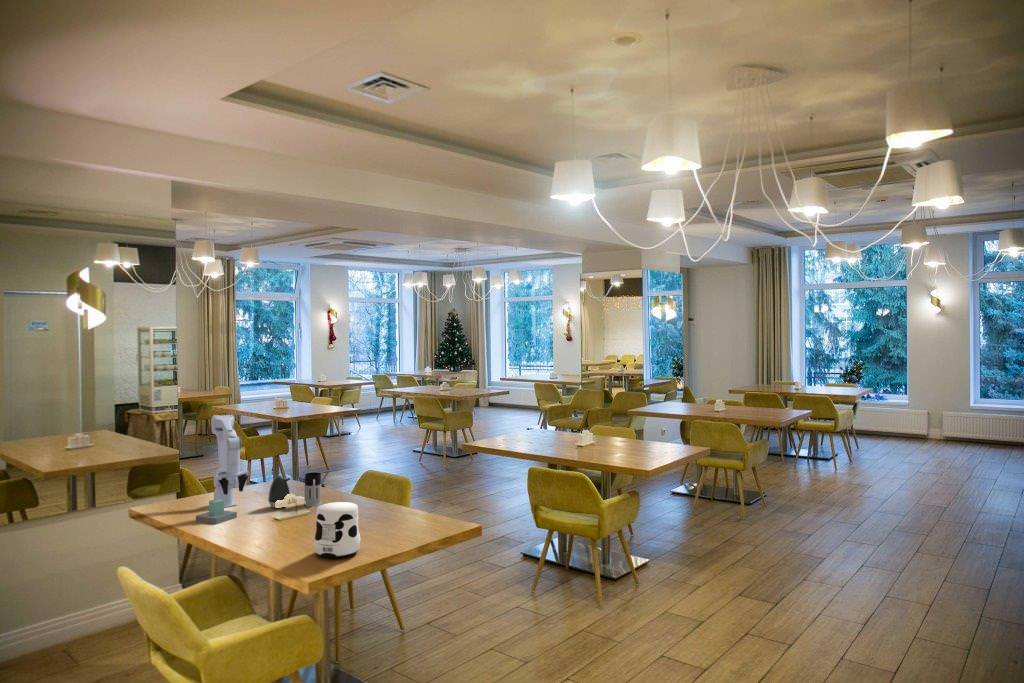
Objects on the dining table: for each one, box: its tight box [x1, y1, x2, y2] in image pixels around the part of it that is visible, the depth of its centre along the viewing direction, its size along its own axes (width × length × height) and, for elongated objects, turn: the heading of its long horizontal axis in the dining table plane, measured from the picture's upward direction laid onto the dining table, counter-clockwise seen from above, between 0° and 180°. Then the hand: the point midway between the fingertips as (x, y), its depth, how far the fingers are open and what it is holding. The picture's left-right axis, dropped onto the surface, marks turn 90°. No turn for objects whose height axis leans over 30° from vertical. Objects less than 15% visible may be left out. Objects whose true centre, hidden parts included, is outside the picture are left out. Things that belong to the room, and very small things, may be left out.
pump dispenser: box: [268, 475, 291, 509], centre depth 331 cm, size 10×10×15 cm
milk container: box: [313, 501, 362, 559], centre depth 261 cm, size 17×17×18 cm
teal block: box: [208, 499, 225, 516], centre depth 309 cm, size 4×4×6 cm
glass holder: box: [304, 471, 323, 508], centre depth 334 cm, size 9×14×15 cm, turn 20°
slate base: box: [195, 509, 238, 525], centre depth 309 cm, size 12×12×2 cm
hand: (233, 492), depth 319 cm, fingers open, 7 cm apart
